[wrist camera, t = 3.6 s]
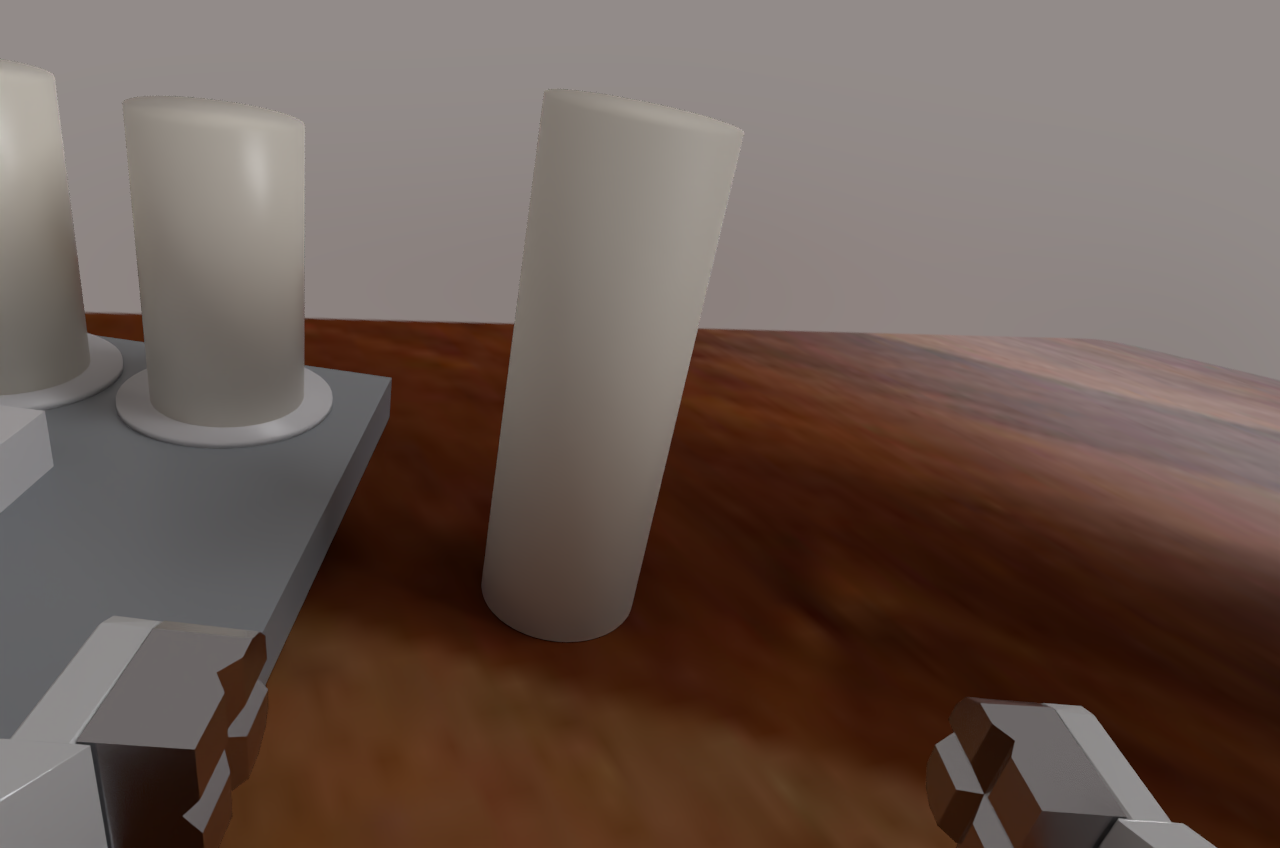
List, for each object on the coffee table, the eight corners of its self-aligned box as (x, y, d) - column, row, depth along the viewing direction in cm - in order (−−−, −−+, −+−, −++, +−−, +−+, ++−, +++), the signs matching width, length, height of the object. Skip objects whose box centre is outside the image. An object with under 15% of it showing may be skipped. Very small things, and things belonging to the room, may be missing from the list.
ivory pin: (628, 551, 23) (726, 117, 18) (637, 649, 20) (762, 146, 14) (489, 534, 23) (548, 81, 17) (472, 633, 19) (539, 103, 14)
